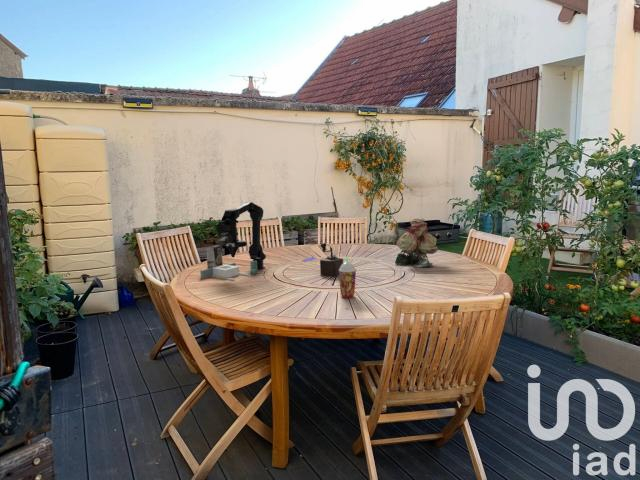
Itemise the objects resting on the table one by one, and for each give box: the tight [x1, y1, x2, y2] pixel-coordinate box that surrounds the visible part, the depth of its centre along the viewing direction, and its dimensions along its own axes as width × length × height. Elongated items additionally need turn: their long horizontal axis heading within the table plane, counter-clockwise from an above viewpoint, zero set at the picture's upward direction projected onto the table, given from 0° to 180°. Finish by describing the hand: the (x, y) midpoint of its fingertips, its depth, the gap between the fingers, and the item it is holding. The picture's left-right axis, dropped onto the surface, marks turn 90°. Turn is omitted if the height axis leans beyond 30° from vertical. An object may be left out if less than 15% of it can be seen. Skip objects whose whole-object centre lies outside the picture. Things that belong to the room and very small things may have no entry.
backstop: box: [200, 262, 251, 282], centre depth 262 cm, size 26×21×5 cm
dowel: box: [249, 260, 258, 276], centre depth 266 cm, size 4×4×8 cm
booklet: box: [302, 256, 318, 262], centre depth 303 cm, size 12×25×1 cm, turn 53°
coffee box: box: [205, 244, 224, 269], centre depth 276 cm, size 9×6×16 cm
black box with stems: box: [319, 242, 344, 278], centre depth 263 cm, size 16×11×18 cm
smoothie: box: [338, 256, 357, 299], centre depth 214 cm, size 8×8×20 cm
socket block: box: [213, 264, 240, 278], centre depth 264 cm, size 11×11×5 cm
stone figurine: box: [394, 218, 438, 268], centre depth 285 cm, size 26×29×30 cm
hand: (233, 257), depth 259 cm, fingers closed
